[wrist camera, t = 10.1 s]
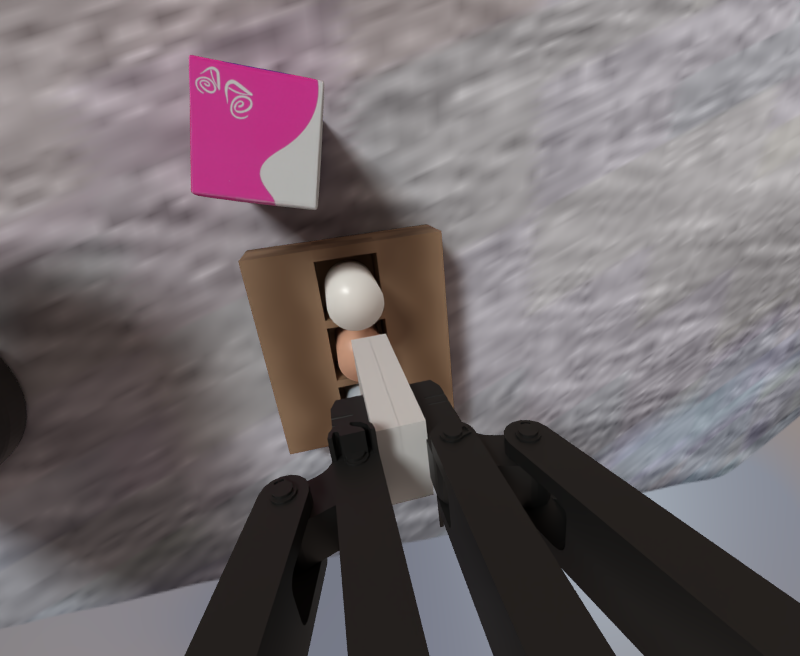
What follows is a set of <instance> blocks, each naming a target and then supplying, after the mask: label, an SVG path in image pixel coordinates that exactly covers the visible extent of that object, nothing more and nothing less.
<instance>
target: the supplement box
mask: <svg viewBox="0 0 800 656" xmlns="http://www.w3.org/2000/svg"><path fill="white" fill-rule="evenodd" d="M189 84H190V147H191V192H192V193H193V194H195V195H198V196H203V197H210V198H217V199H224V200H232V201H240V202H248V203H256V204H265V205H274V206H283V207H291V208H300V209H309V210H316V209H317V207H318V198H319V184H320V167H321V149H322V129H323V104H324V82H323V81H320V80H316V79H311V78H306V77H301V76H296V75H291V74H286V73H281V72H276V71H271V70H266V69H260V68H255V67H250V66H244V65H239V64H234V63H229V62H224V61H219V60H213V59H208V58H203V57H199V56H194V55H190V56H189Z"/></svg>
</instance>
